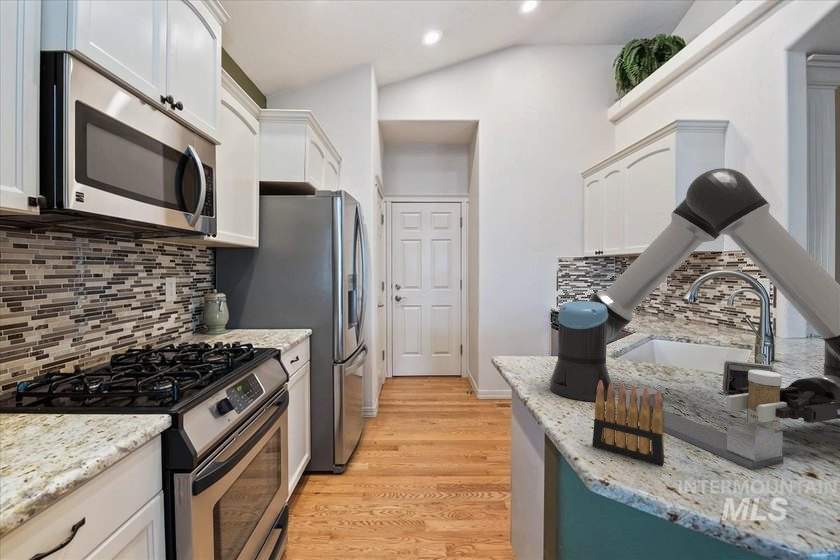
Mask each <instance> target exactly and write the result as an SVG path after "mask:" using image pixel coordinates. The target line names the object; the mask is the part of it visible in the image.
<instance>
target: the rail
mask: <svg viewBox="0 0 840 560" xmlns="http://www.w3.org/2000/svg"><path fill="white" fill-rule="evenodd" d="M645 388H647V390H648V393H649V398H650V413H651V427H652V414H653V408H654V399H655V395H656V392H657V391H658V389H653V388H650V387H640V388H639V387H638V388H636V391H637V403H638V412H639V421H640V410H641V403H642V395H643V391H644V389H645ZM631 389H632V388H631ZM631 389H625V392H626V407H627V417H628V408H629V401H630V392H631ZM660 393H661V396H662V408H663V417H664V427H663V433H666V434H668V435H670V436H672V437H674V438H677V439H680V440H682V441H684V442H686V443H689V444H691V445H694V446H696V447H698V448H701V449H703V450H705V451H707V452H710V453H711V454H714V455H717V456H719V457H722V458H723V459H726V460H728V461H730V462H733V463H735V464H738V465H740V466H742V467H745V468H747V469H749V470H757V469H760V468H765V467H770V466H774V465H777V464H781V463H784V459H785V458H784V456H785V454H783V435H784V434H783V433H784V432H783V431H781V430H780V429H779V430H776V429H773V428H770V427H767V426H764V425H761V424H758V423H749V424H747V423H744V424H738V425H732V426H727V432H722V431H720V430H717V429H714V428H713V427H710V426H707V425H705V424H702V423H699V422H696V421H693V420H691V419H687V418H685V417H682V416H680V415H678V414H674V413H672V412H669V411H666V410H664V402H665V401H664V397H665V393H664V392H662V391H660ZM639 421H638V422H639Z"/></svg>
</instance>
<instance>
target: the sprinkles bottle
mask: <svg viewBox="0 0 840 560" xmlns="http://www.w3.org/2000/svg"><path fill="white" fill-rule="evenodd" d="M748 380H749V381H748V382H749V393H748V402H747V409H746V424H749V423H758V424H761V425H764V426H767V427H770V428H773V429H776V430H779V431H780V419H779V420H773V421H767V422H760V421H758V405H763V404H769V403H776V402H780V388H782V387H781V386H782V383H783V382H782V381H783V377H782V374H780V373H778V372H775V371H772V372H770V371H765V370H749V371H748Z"/></svg>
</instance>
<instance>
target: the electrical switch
mask: <svg viewBox="0 0 840 560" xmlns="http://www.w3.org/2000/svg"><path fill="white" fill-rule="evenodd" d="M749 370H765V371H770V372H773V366H771V365H770V364H765V363H756V362H750V361H749V362H747V361H738V360H727V359H726V360H725V361H724V365H723V376H722V391H723V393H725V392H727V396H728V395H736V389H737V388H744V387H749V382H748V381H749V380H748V371H749Z"/></svg>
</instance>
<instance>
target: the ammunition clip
mask: <svg viewBox="0 0 840 560" xmlns="http://www.w3.org/2000/svg"><path fill="white" fill-rule="evenodd" d="M644 388H645V389H644V391H643V395H642V403H641V410H640V421H639V412H638V403H637V391H636V389H637V388H636V386H635V385H632V387H631V392H630V401H629V408H628V416H627V407H626V392H625V390H626V387H625V385H624V384H623V383H621V384H620V386H619V389H618V397H617V405H616V398H615V397H616V394H615V391H616V390H615V386H614V384H613V382H612V381H611V382H610V384H609V387H608V393H607V400H606V403H605V400H604V387H603V383H602V381H601V380H600V381H599V383H598V387H597V395H596V401H594V402H595V404H594V420H593V429H592V430H593V432H592V433H593V434H592V444H591V445H592V446H591V447H593V448H596V449H599V450H602V451H606V452H609V453H613V454H616V455H620V456H623V457H624V456H625V457H628V458H630V459H631V458H632V459H635V460H638V461H642V462H646V463H649V464H653V465H656V466H659V467H663V466H664V462H665V457H664V456H665V452H664V451H665V450H664V446H665V445H664V432H663V427H664V417H663V410H664V407H663V408H662V396H661V393H660V392H661V391H660V389H657V392H656V395H655V399H654V408H653V414H652V426H651V413H650V398H649V393H648V390H647V388H648V387H644Z"/></svg>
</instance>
